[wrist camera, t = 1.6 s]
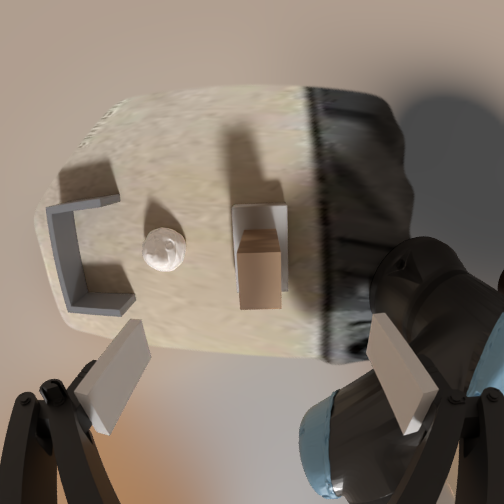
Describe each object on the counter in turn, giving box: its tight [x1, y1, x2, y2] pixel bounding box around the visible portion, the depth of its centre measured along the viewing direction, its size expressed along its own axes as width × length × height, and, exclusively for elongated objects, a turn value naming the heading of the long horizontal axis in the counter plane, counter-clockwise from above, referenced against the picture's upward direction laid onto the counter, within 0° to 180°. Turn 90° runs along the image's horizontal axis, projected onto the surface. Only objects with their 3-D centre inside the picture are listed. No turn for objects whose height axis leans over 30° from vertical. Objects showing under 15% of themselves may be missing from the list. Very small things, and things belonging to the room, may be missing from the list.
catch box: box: [46, 194, 136, 317], centre depth 33 cm, size 10×15×5 cm, turn 3°
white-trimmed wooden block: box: [232, 203, 288, 310], centre depth 29 cm, size 6×10×12 cm, turn 3°
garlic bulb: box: [142, 227, 186, 271], centre depth 32 cm, size 6×6×5 cm
